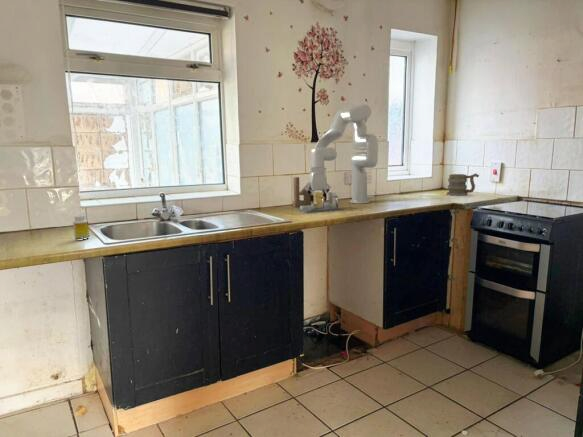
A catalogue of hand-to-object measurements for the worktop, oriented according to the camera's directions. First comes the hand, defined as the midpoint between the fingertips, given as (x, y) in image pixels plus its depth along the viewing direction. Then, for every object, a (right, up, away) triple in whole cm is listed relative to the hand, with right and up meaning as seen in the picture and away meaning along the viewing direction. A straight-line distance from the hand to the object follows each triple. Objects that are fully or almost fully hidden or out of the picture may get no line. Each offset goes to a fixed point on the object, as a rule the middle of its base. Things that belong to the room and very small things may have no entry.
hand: (318, 201), depth 252 cm
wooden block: (-9, -3, +16) cm, 19 cm away
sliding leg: (+1, -4, -2) cm, 4 cm away
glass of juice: (-105, -19, -65) cm, 125 cm away
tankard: (+102, +6, +50) cm, 114 cm away
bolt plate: (+1, -5, 0) cm, 5 cm away
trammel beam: (+1, -4, -2) cm, 5 cm away
